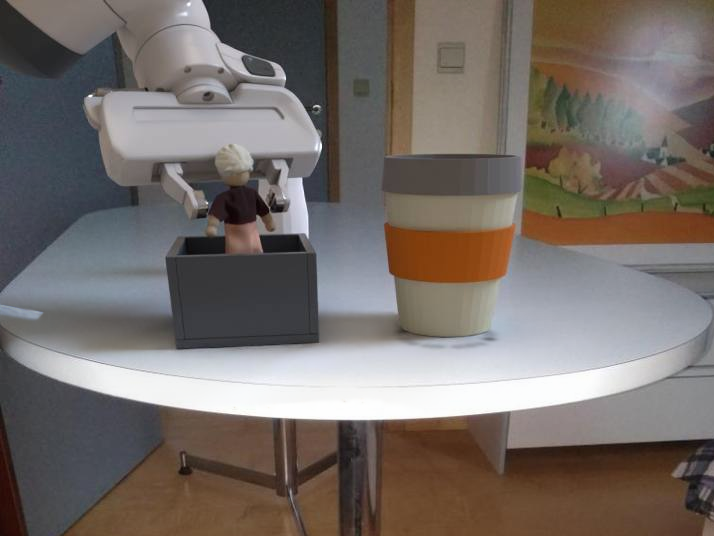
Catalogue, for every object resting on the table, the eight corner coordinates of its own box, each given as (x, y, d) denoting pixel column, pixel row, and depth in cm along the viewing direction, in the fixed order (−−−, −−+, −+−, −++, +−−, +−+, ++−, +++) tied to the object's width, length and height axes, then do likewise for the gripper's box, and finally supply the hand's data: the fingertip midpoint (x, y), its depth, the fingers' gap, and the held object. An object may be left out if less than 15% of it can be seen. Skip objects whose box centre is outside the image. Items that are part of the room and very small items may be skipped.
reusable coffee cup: (420, 305, 78) (424, 153, 71) (530, 319, 72) (546, 154, 65) (355, 330, 69) (353, 157, 62) (475, 349, 62) (488, 160, 56)
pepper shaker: (246, 272, 96) (234, 110, 88) (290, 265, 101) (282, 111, 92) (279, 279, 91) (270, 109, 83) (323, 272, 96) (319, 110, 87)
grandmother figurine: (254, 282, 72) (243, 142, 66) (285, 286, 70) (276, 142, 64) (201, 298, 66) (183, 145, 60) (233, 302, 64) (218, 145, 58)
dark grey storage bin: (176, 349, 63) (165, 257, 60) (186, 315, 74) (177, 236, 71) (319, 342, 65) (316, 252, 61) (308, 310, 76) (305, 233, 73)
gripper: (77, 57, 60) (129, 192, 57) (296, 65, 69) (350, 180, 66) (75, 118, 65) (122, 244, 62) (278, 117, 75) (328, 226, 72)
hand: (242, 211), depth 64 cm, fingers closed on grandmother figurine, 6 cm apart
